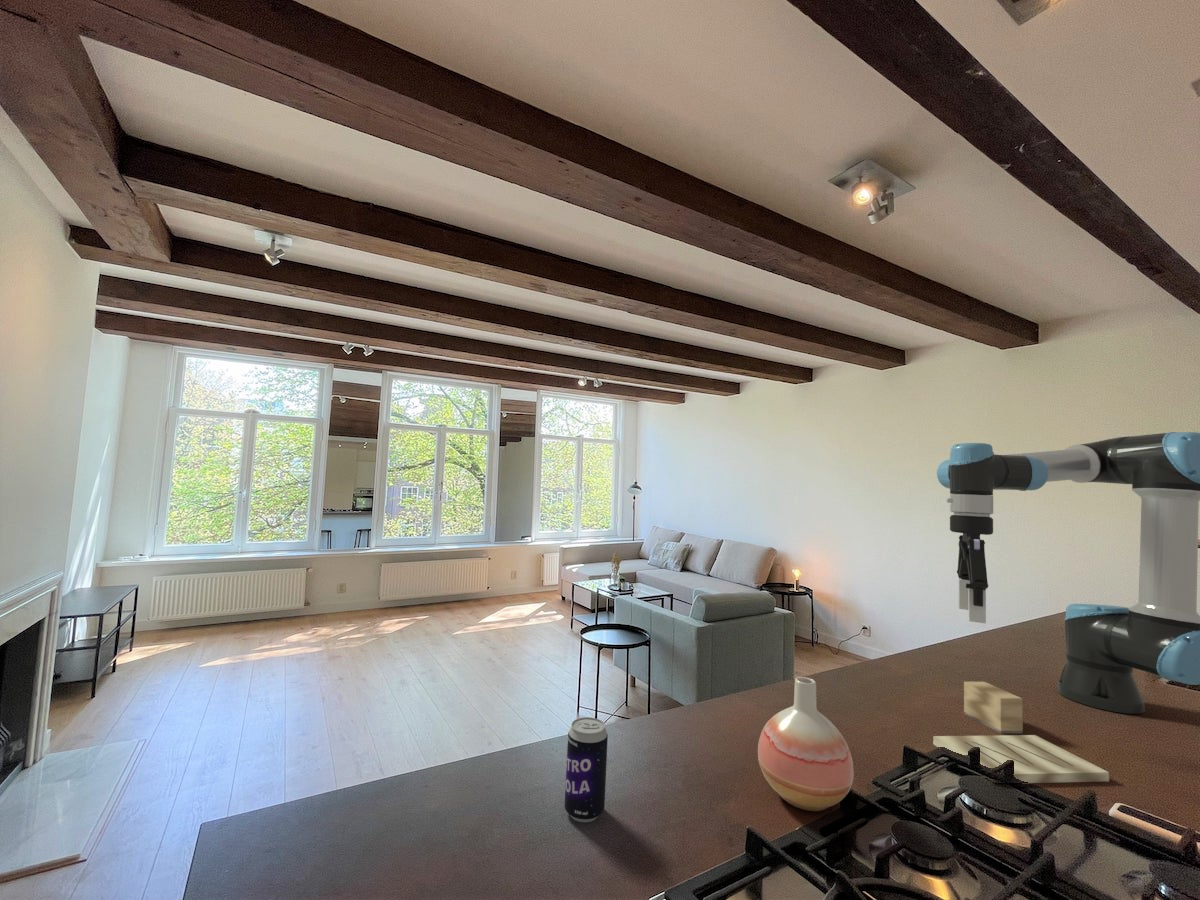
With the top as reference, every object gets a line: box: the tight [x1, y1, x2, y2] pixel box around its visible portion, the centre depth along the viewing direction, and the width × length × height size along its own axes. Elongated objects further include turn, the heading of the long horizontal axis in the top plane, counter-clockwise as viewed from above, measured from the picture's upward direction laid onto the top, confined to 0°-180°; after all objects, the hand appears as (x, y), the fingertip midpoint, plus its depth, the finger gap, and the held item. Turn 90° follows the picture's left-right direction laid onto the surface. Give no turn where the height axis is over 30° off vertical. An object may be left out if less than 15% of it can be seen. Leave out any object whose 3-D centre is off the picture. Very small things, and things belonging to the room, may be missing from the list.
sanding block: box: [963, 681, 1024, 735], centre depth 108 cm, size 9×5×7 cm, turn 7°
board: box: [932, 734, 1110, 784], centre depth 92 cm, size 22×13×2 cm, turn 97°
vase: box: [757, 676, 855, 812], centre depth 78 cm, size 14×14×18 cm
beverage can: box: [563, 717, 609, 823], centre depth 72 cm, size 6×6×12 cm
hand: (971, 615), depth 107 cm, fingers open, 13 cm apart
